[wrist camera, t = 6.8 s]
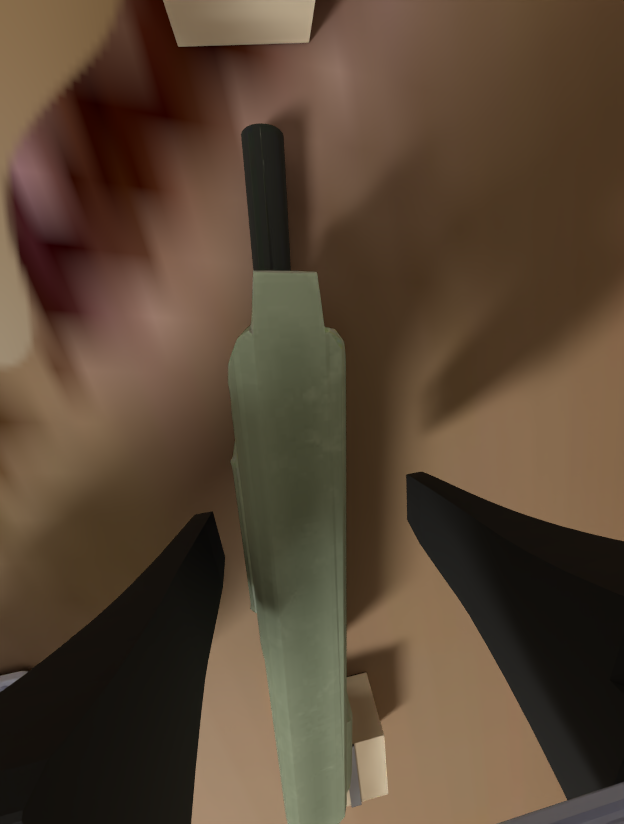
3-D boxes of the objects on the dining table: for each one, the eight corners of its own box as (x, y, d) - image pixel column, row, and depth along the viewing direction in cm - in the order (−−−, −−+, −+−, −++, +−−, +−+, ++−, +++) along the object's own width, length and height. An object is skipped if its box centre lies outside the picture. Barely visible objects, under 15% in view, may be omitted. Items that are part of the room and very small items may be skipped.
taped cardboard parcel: (315, 744, 20) (323, 815, 17) (111, -292, 7) (-3, -740, 4) (371, 728, 21) (388, 796, 18) (279, -279, 7) (288, -674, 4)
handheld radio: (269, 661, 18) (208, 150, 10) (323, 648, 18) (305, 155, 10) (278, 850, 11) (131, -139, 4) (360, 822, 12) (382, -90, 4)
